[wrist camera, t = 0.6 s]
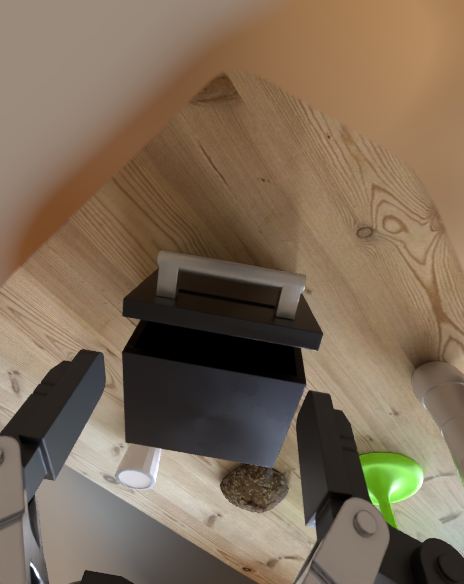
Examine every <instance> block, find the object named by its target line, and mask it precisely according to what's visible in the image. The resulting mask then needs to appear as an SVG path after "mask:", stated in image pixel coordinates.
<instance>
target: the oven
mask: <svg viewBox="0 0 464 584" xmlns="http://www.w3.org/2000/svg"><path fill="white" fill-rule="evenodd" d="M122 361H123V387H124V413H125V439H126V443H132V444H137V445H143V446H149V447H155V448H160V449H166V450H172V451H177V452H183V453H189V454H195V455H200V456H206V457H212V458H218V459H223V460H229V461H235V462H240V463H246V464H252V465H258V466H263V467H269V468H273V467H274V464H275V462H276V459H277V457H278V454H279V452H280V449H281V447H282V444H283V442H284V439H285V437H286V434H287V432H288V429H289V427H290V424H291V422H292V419H293V417H294V414H295V412H296V409H297V407H298V404H299V402H300V399H301V397H302V394H303V392H304V389H305V387H306V379H305V372H304V365H303V359H302V353H301V348H299V347H293V346H288V345H282V344H276V343H271V342H265V341H259V340H254V339H248V338H243V337H237V336H231V335H226V334H220V333H214V332H209V331H203V330H197V329H192V328H186V327H180V326H175V325H169V324H163V323H158V322H152V321H146V320H140V322H139V324H138V325H137V327H136V329H135V330H134V332H133V334H132V336H131V337H130V339H129V341H128V343H127V344H126V346H125V348H124V350H123V351H122Z"/></svg>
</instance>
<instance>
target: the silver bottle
mask: <svg viewBox="0 0 464 584" xmlns="http://www.w3.org/2000/svg"><path fill="white" fill-rule="evenodd" d="M411 384H412V388H413V391H414V394H415V395H416V397H417V398H418V399H419V401H420V402H421V403H422V405H423V406H424V407H425V408H426V409H427V411H428V412H429V414H430V415H431V417H432V418H433V420H434V421H435V423H436V424H437V426H438V427H439V429H440V431H441V433H442V435H443V437H444V440H445V442H446V444H447V446H448V448H449V450H450V453H451V456H452V458H453V461H454V464H455V466H456V469H457V472H458V475H459V477H460V479H461V481H462V484H463V486H464V374H463V373H462V372H460V371H459V370H458V369H457V368H456V367H455V366H453V365H451V364H448V363H445V362H441V361H433V362H428V363H425V364H423V365H421V366H419V367H418V368H417V369H416V370H415V371H414V373H413V376H412V379H411Z"/></svg>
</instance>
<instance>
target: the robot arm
mask: <svg viewBox="0 0 464 584" xmlns="http://www.w3.org/2000/svg"><path fill="white" fill-rule="evenodd" d="M105 383H106V376H105V365H104V355H103V353H101V352H96V351H90V350H85V349H82V350H80V351H79V352H78V353H77V355H76V356H75V358H74V359H73V360H72V362H70V361H63V362H61V363H60V364H58V365H57V366H55V367H54V368H52V369H51V370H50V371H49V372H48V373H47V375H46V376H45V377H44V379H43V380H42V381H41V384H39V385H38V386H37V387H36V389H35V390H34V392H33V394H31V395H30V396H29V397H28V399H27V400H26V401H25V403H24V404H23V405H22V406H21V408H20V409H19V410H18V411H17V413H16V414H15V415H14V416H13V418H12V419H11V420H10V422H9V423H8V424H7V425H6V427H5V428H4V429H3V430H2V431H1V433H0V584H49V580H48V574H47V568H46V563H45V559H44V554H43V547H42V538H41V529H40V520H39V511H38V502H37V493H36V491H37V489H38V487H39V485H40V484H41V482H42V480H43V479H48V480H54V481H55V479H56V477H57V476H58V474H59V472H60V470H61V468H62V467H63V465H64V463H65V461H66V459H67V458H68V456H69V454H70V452H71V450H72V448H73V447H74V445H75V443H76V441H77V439H78V438H79V436H80V434H81V432H82V430H83V428H84V427H85V425H86V423H87V421H88V419H89V417H90V416H91V414H92V412H93V410H94V408H95V407H96V405H97V403H98V401H99V399H100V397H101V396H102V393H103V391H104V388H105ZM296 432H297V443H298V453H299V464H300V474H301V484H302V495H303V505H304V516H305V526H309V527H315V528H316V533H317V541H316V542H315V544H314V546H313V548H312V549H311V551H310V553H309V555H308V556H307V558H306V560H305V562H304V563H303V565H302V567H301V569H300V571H299V572H298V574H297V576H296V578H295V579H294V581H293V583H292V584H464V558H463V557H462V556H461V554H460V553H459V552H458V551H457V550H456V549H454V548H453V547H452V546H451V545H449V544H448V543H446V542H444V541H442V540H440V539H436V538H429V539H426V540H425V541H424V542H423V543H422V542H420V541H418V540H416V539H414V538H412V537H410V536H409V535H407V534H405V533H403V532H401V531H399V530H397V529H396V528H394V527H392V526H391V525H390V524H388V523H387V522H386V521H385V519H384V517H383V515H382V514H381V513H380V511H379V510H378V509H377V508H376V507H375V506H374V505H373V503H372V501H371V499H370V496H369V492H368V488H367V484H366V481H365V477H364V473H363V469H362V466H361V462H360V458H359V454H358V452H357V447H356V443H355V441H354V435H353V432H352V428H351V424H350V422H349V421H348V419H347V418H346V416H345V415H344V413H343V412H342V411H341V410H335V409H333V404H332V400H331V396H330V394H328V393H322V392H316V391H311V390H309V391H308V393H307V395H306V397H305V400H304V402H303V404H302V407H301V409H300V411H299V414H298V417H297V423H296ZM70 584H134V583H132V582H130V581H129V580H127V579H125V578H123V577H121V576H116V575H110V574H104V573H98V572H93V571H87V570H85V572H84V575H83V577H82V580H81V581H77V582H73V583H70Z"/></svg>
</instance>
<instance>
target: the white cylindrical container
mask: <svg viewBox="0 0 464 584" xmlns="http://www.w3.org/2000/svg"><path fill="white" fill-rule="evenodd" d="M161 452H162V449H160V448H155V447H149V446H143V445H137V444H132V443H130V445H129V447H128V449H127V451H126V453H125V455H124V457H123V459H122V461H121V463H120V465H119V467H118V469H117V471H116V474H115V477H116V479H117V481H118V482H119V483H121V484H122V485H124V486H126V487H128V488H131V489H135V490H147V489H151V488H152V487H154V485H155V482H156V477H157V472H158V467H159V462H160V457H161Z"/></svg>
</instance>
